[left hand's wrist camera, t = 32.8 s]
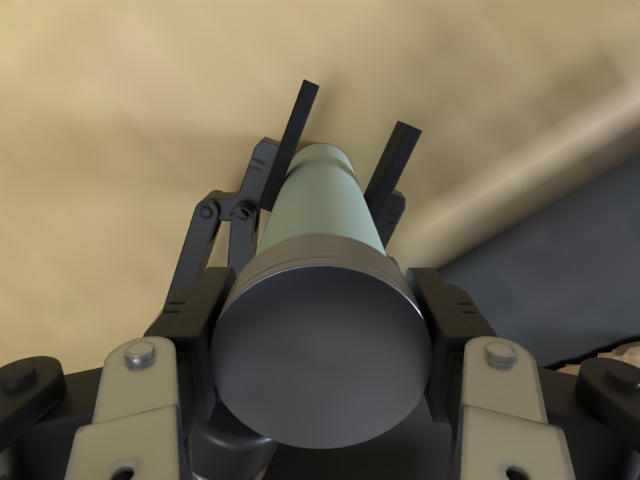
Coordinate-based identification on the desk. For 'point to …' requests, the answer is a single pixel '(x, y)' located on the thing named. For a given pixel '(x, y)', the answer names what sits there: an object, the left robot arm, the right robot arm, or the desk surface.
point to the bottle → (320, 200)
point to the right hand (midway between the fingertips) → (361, 105)
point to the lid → (321, 343)
